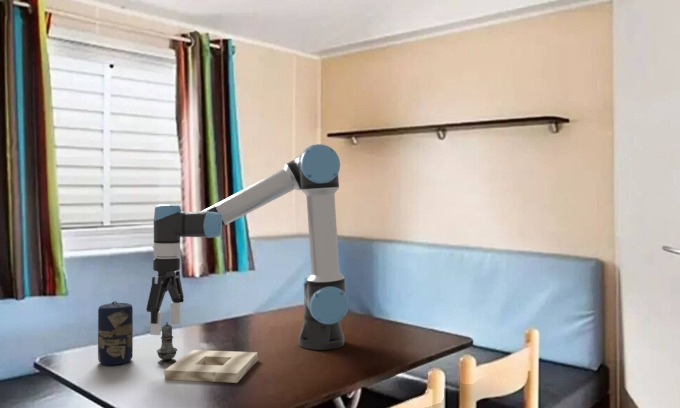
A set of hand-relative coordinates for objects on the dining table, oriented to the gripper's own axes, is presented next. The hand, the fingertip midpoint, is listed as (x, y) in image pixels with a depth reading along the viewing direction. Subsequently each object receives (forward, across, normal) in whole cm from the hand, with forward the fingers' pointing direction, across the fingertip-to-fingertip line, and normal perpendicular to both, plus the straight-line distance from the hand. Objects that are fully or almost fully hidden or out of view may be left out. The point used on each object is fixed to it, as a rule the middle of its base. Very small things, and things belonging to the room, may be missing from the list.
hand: (165, 329), depth 168 cm
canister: (+10, +2, -14) cm, 18 cm away
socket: (+10, +5, +16) cm, 20 cm away
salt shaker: (+10, 0, 0) cm, 10 cm away
